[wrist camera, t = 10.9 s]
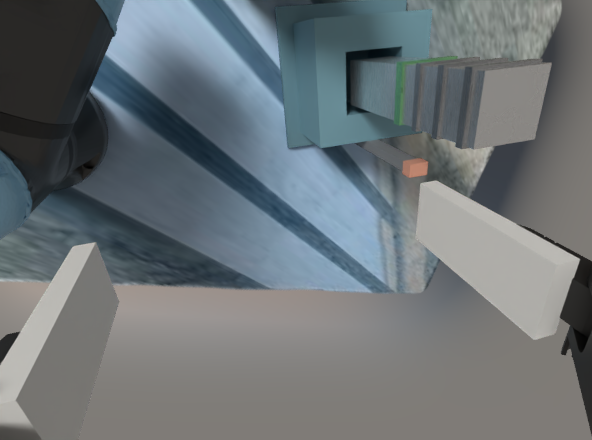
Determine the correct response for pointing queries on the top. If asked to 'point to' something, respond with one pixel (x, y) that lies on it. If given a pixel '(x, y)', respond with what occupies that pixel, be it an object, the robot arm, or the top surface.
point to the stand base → (345, 72)
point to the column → (454, 96)
